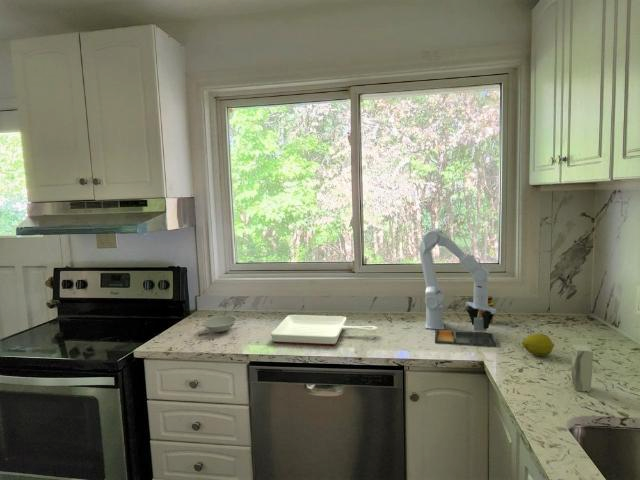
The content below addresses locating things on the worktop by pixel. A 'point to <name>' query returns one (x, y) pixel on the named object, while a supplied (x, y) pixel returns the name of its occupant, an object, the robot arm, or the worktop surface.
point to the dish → (220, 323)
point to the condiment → (490, 306)
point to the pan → (312, 330)
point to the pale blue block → (479, 324)
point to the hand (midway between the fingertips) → (480, 326)
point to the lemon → (538, 345)
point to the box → (582, 368)
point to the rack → (465, 338)
